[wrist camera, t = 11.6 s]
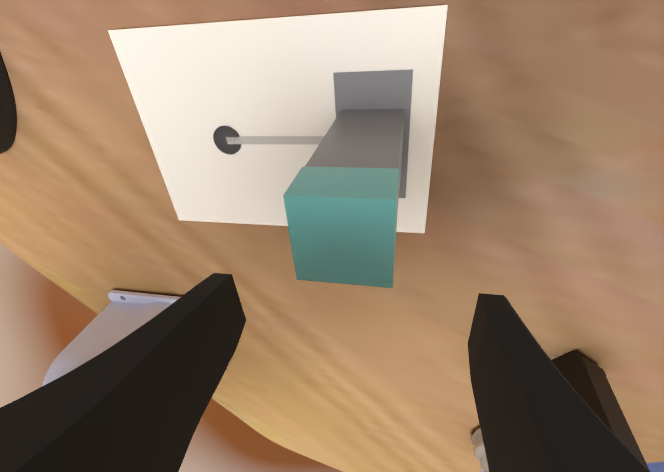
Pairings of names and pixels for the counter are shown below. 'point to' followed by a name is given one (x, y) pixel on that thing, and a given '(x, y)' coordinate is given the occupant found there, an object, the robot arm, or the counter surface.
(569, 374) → the ink cartridge
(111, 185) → the counter surface
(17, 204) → the counter surface
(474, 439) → the rook chess piece
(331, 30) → the paper sheet
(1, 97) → the computer mouse
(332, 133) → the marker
